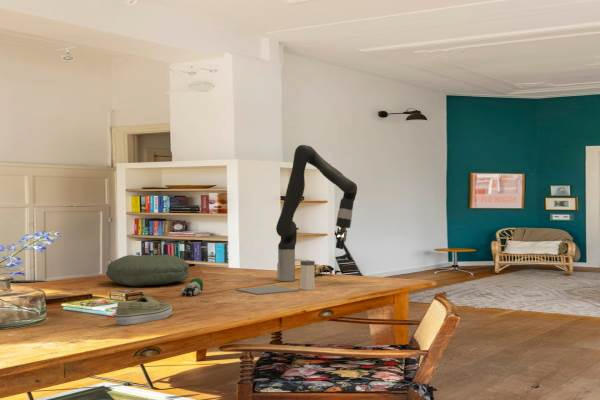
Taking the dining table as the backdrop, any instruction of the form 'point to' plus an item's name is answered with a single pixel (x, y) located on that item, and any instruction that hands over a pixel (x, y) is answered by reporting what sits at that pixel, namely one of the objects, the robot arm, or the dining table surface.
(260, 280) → the dining table surface
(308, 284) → the cream block
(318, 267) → the figurine
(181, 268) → the pillow
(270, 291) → the slate mat
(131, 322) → the boat shoe
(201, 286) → the toy
